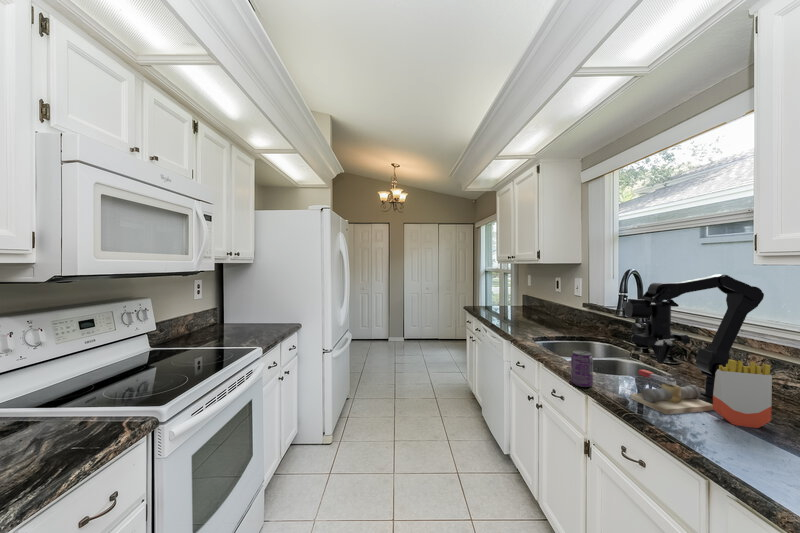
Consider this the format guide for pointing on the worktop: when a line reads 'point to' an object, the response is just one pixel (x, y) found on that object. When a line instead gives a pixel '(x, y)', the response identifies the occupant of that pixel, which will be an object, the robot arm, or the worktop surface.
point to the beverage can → (582, 368)
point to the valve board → (675, 406)
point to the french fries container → (743, 394)
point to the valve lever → (658, 377)
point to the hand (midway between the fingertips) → (660, 363)
